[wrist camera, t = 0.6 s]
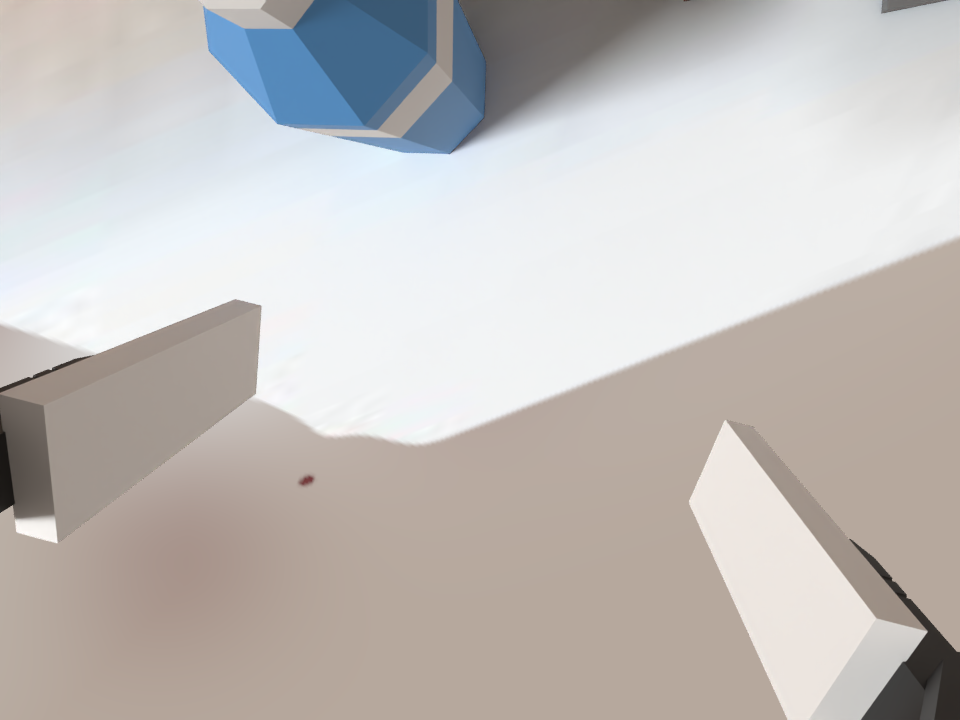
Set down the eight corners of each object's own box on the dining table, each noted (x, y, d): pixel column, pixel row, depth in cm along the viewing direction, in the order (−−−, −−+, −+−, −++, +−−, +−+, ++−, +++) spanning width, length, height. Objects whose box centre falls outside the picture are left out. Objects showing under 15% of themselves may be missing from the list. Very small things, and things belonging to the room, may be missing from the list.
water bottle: (511, 50, 36) (452, -210, 12) (458, 179, 39) (330, 172, 15) (390, -10, 35) (84, -399, 12) (346, 125, 38) (39, 32, 15)
